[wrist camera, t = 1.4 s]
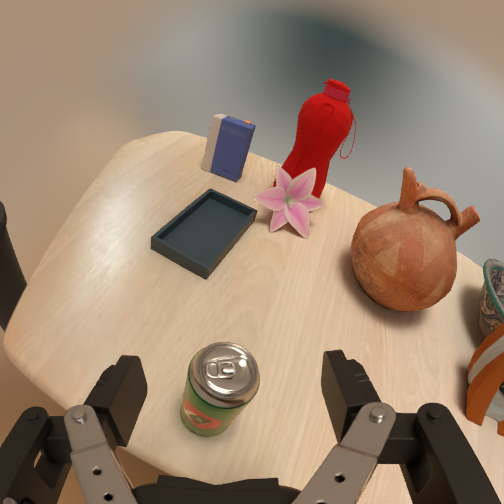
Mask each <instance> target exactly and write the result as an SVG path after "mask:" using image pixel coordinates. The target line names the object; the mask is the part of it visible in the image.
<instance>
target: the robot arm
mask: <svg viewBox="0 0 504 504" xmlns="http://www.w3.org/2000/svg"><path fill="white" fill-rule="evenodd" d="M321 388H322V393H323V396H324V400H325V403H326V406H327V409H328V413H329V416H330V419H331V422H332V426H333V429H334V432H335V436H336V439H337V442H338V444H336V445H335V446H334V447H333V448H332V450H331V451H330V453H329V454H328V456H327V457H326V459H325V460H324V461H323V463H322V464H321V466H320V467H319V469H318V470H317V471H316V473H315V474H314V475H313V477H312V478H311V480H310V481H309V482H308V484H307V485H306V486H305V488H304V489H303V490H302V491H300V490H298V489H295V488H292V487H287V486H281V485H279V484H278V478H266V479H247V480H242V481H237V482H232V483H227V484H221V485H213V484H209V483H205V482H201V481H197V480H193V479H190V478H185V477H174V476H164V475H159V477H158V481H157V482H156V483H149V484H145V485H141V486H139V487H136V488H134V486H133V484H132V483H131V481H130V479H129V477H128V475H127V474H126V472H125V470H124V468H123V466H122V464H121V462H120V460H119V458H118V456H117V454H116V452H115V449H116V447H117V446H123V447H127V445H128V442H129V439H130V437H131V434H132V431H133V429H134V426H135V424H136V421H137V419H138V416H139V413H140V411H141V408H142V406H143V403H144V401H145V398H146V396H147V382H146V378H145V375H144V371H143V368H142V364H141V361H140V358H139V357H138V356H128V355H122V356H121V357H120V358H119V360H118V362H117V363H116V365H111V366H110V367H109V368H107V369H106V370H105V371H104V372H103V373H102V375H101V376H100V378H99V380H98V381H97V383H96V386H94V388H93V389H92V391H91V392H90V394H89V396H88V397H87V399H86V401H85V402H84V404H83V405H77V406H74V407H72V408H70V409H69V410H68V411H67V412H66V413H65V415H64V416H49V415H48V414H47V411H46V410H45V409H44V408H42V407H31V408H28V409H27V410H25V411H24V412H23V413H22V415H21V416H20V417H19V419H18V420H17V422H16V423H15V425H14V427H13V428H12V430H11V431H10V433H9V434H8V436H7V437H6V439H5V441H4V442H3V444H2V446H1V447H0V504H57V501H58V498H59V496H60V493H61V490H62V488H63V486H64V483H65V480H66V478H67V475H68V473H69V470H70V468H71V465H72V463H73V466H74V470H75V472H76V475H77V478H78V481H79V484H80V487H81V489H82V492H83V495H84V497H85V500H86V502H87V504H357V503H358V501H359V499H360V497H361V495H362V493H363V492H364V490H365V488H366V486H367V484H368V482H369V480H370V478H371V477H372V475H373V473H374V471H375V469H376V467H377V465H378V464H399V465H400V468H401V471H402V473H403V476H404V479H405V482H406V485H407V488H408V491H409V494H410V497H411V500H412V503H413V504H501V502H500V500H499V498H498V496H497V494H496V492H495V490H494V488H493V486H492V484H491V482H490V480H489V478H488V477H487V475H486V473H485V471H484V469H483V467H482V465H481V464H480V462H479V460H478V458H477V456H476V455H475V453H474V451H473V449H472V448H471V446H470V444H469V442H468V441H467V439H466V437H465V436H464V434H463V432H462V430H461V429H460V427H459V425H458V424H457V422H456V421H455V419H454V417H453V416H452V414H451V412H450V411H449V409H448V408H447V407H445V406H444V405H442V404H439V403H427V404H424V405H422V406H421V407H420V408H419V410H418V412H417V413H396V412H395V410H394V409H393V408H392V407H391V406H390V405H388V404H386V403H382V402H381V400H380V398H379V396H378V394H377V392H376V391H375V389H374V387H373V385H372V383H371V381H370V379H369V377H368V375H366V372H365V370H364V368H363V366H362V365H361V364H360V363H358V362H357V361H356V360H354V359H352V360H347V359H346V357H345V355H344V353H343V351H342V350H333V351H325V352H324V355H323V365H322V376H321ZM39 451H40V452H41V453H42V454H41V456H40V458H39V460H38V462H37V464H36V466H35V468H34V461H35V459H36V457H37V455H38V453H39Z"/></svg>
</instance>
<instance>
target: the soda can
mask: <svg viewBox="0 0 504 504" xmlns="http://www.w3.org/2000/svg"><path fill="white" fill-rule="evenodd" d="M259 384H260V375H259V371H258V366H257V363H256V361H255V359H254V357H253V356H252V355H251V354H250V352H248V351H247V350H246V349H245V348H243V347H241V346H239V345H237V344H234V343H230V342H218V343H214V344H211V345H209V346H207V347H205V348H203V349H201V350H200V351H199V352H197V354H196V355H195V356H194V357H193V359H192V360H191V362H190V365H189V369H188V374H187V379H186V384H185V389H184V394H183V399H182V404H181V417H182V420H183V422H184V424H185V425H186V427H187V428H188V429H190V430H191V431H192V432H194V433H196V434H198V435H202V436H214V435H217V434H219V433H221V432H223V431H224V430H225V429H226V428H227V427H228V426H229V425H230V424H231V423H232V421H233V420H234V419H235V418H236V417H237V416H238V415H239V414H240V412H241V411H242V410H243V409H244V408H245V407H246V406H247V404H248V403H249V402H250V401H251V400H252V399H253V397H254V396H255V395H256V393H257V391H258V388H259Z"/></svg>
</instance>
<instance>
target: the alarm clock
mask: <svg viewBox="0 0 504 504" xmlns="http://www.w3.org/2000/svg"><path fill="white" fill-rule="evenodd" d="M468 383H469V384H470V386H469V388H468V390H467V404H466V418H467V419H468V420H470V421H472V422H474V423H476V424H478V425H480V426H481V425H482V423H483V419H484V416H485V415H487V416H489V417H491V418H493V419H495V420H497V421H498V434H500V435H502V436H504V323H502V324H501V325H500V326H499V327H498V328H497V329H496V330H494V331H493V332H492V333H491V334H490V335H489V336H487V337H486V338H485V339H484V341H483V342H482V343H481V345H480V346H479V347H478V349H477V350H476V351H475V352H474V354H473V357H472V359H471V361H470V364H469V366H468Z"/></svg>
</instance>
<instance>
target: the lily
mask: <svg viewBox="0 0 504 504" xmlns="http://www.w3.org/2000/svg"><path fill="white" fill-rule="evenodd" d="M315 179H316V169H315V168H312V169H309V170H307V171H306V172H304V173H302V174H301V175H299V176H297V177H296V178H295V179H293V180H292V178H291V177H290V176H289V175H288V173H287V172H286V171H285V170H283V169H282V168H281V167H280V166H277V167H276V184H277V187H272V188H269V189H266V190H263V191H260V192H257V193H255V194H254V195H253V198H254V199H255V200H256V201H257V202H259V203H260V204H262V205H264V206H266V207H267V208H269V209H271V210H273V211H274V213H273V216H272V220H271V225H270V232H273V231H275V230H277V229H279V228H280V227H282V226H283V225H285V224H286V223H287V222H289V223H290V224H291V225H292V226H293V227H294V228H295V229H296V230H297V231H298V232H299V233H300V234H301V235H302V236H303V237H304V238H308V237H309V234H310V215H309V211H313V210H316V209H319V208H321V207H323V206H324V203H323V202H322V201H321V200H319V199H318V198H316V197H315V196H313V195H311V193H312V191H313V187H314V184H315Z"/></svg>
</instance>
